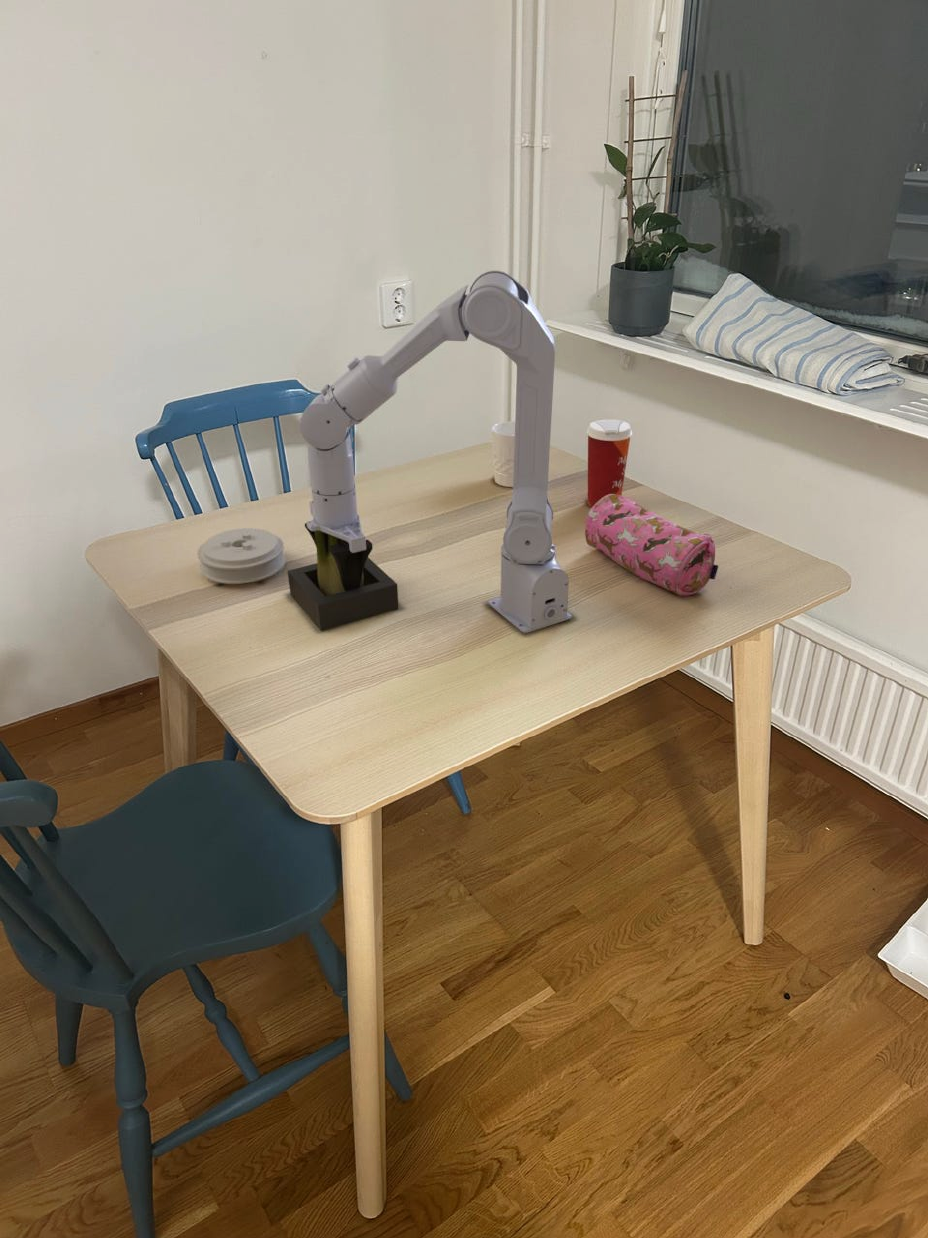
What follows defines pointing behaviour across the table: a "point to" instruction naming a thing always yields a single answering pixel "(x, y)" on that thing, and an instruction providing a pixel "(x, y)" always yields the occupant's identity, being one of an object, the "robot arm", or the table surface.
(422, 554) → the table surface
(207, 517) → the table surface
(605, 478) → the paper cup
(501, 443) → the white cup
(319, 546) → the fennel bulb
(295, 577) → the holder
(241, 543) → the lid
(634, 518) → the pencil case
